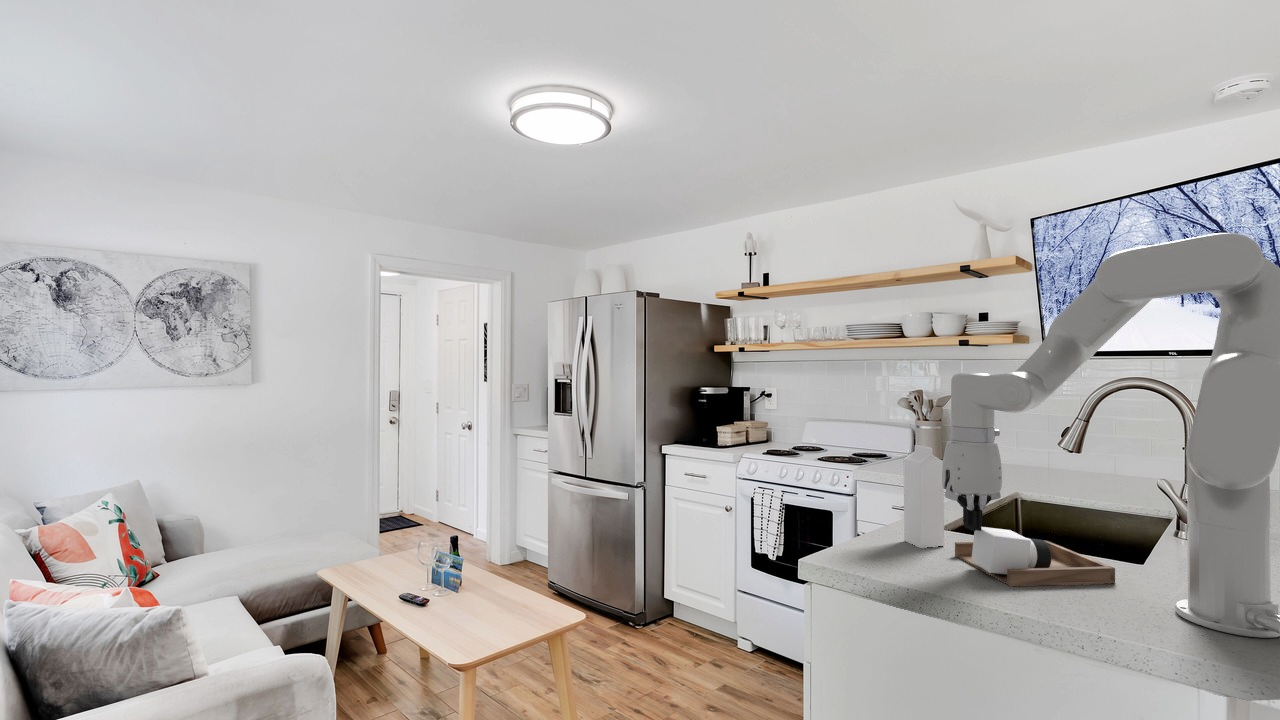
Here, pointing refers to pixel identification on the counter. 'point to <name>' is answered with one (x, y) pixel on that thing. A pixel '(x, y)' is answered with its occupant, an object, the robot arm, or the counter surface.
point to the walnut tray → (1050, 569)
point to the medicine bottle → (1008, 551)
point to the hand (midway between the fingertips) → (972, 528)
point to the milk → (923, 499)
